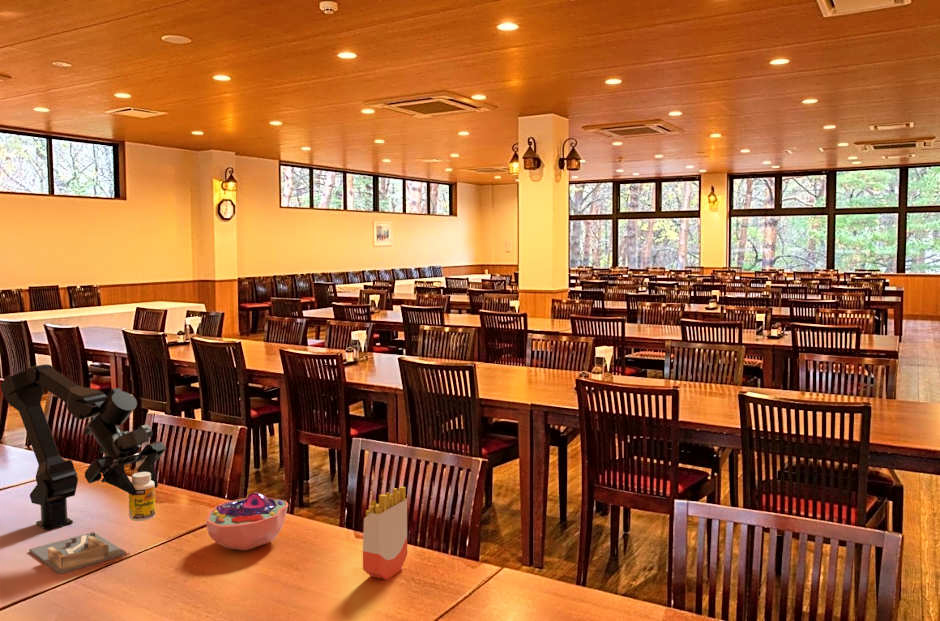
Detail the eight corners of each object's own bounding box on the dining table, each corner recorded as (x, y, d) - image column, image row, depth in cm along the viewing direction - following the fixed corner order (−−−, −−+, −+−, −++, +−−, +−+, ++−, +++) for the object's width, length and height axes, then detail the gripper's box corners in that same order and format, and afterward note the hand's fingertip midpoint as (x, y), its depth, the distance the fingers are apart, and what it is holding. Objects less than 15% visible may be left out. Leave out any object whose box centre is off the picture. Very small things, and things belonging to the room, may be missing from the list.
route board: (29, 551, 176) (29, 544, 175) (93, 534, 186) (92, 527, 186) (59, 574, 164) (59, 566, 164) (125, 554, 174) (125, 547, 174)
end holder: (48, 559, 170) (47, 548, 170) (92, 546, 177) (92, 535, 177) (63, 570, 164) (62, 558, 164) (108, 556, 171) (108, 545, 171)
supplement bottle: (131, 523, 175) (130, 479, 174) (127, 516, 179) (126, 472, 178) (157, 519, 178) (156, 475, 177) (153, 511, 182) (151, 469, 181)
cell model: (187, 553, 175) (186, 504, 174) (251, 524, 193) (250, 480, 192) (244, 567, 167) (243, 516, 166) (305, 536, 185) (304, 490, 184)
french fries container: (361, 580, 161) (360, 495, 159) (389, 561, 171) (389, 481, 169) (380, 585, 159) (379, 499, 157) (407, 565, 168) (407, 484, 167)
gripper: (91, 424, 170) (128, 481, 166) (159, 407, 186) (195, 459, 183) (68, 454, 174) (104, 511, 170) (137, 436, 191) (171, 486, 187)
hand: (146, 490), depth 177 cm, fingers closed on supplement bottle, 6 cm apart
